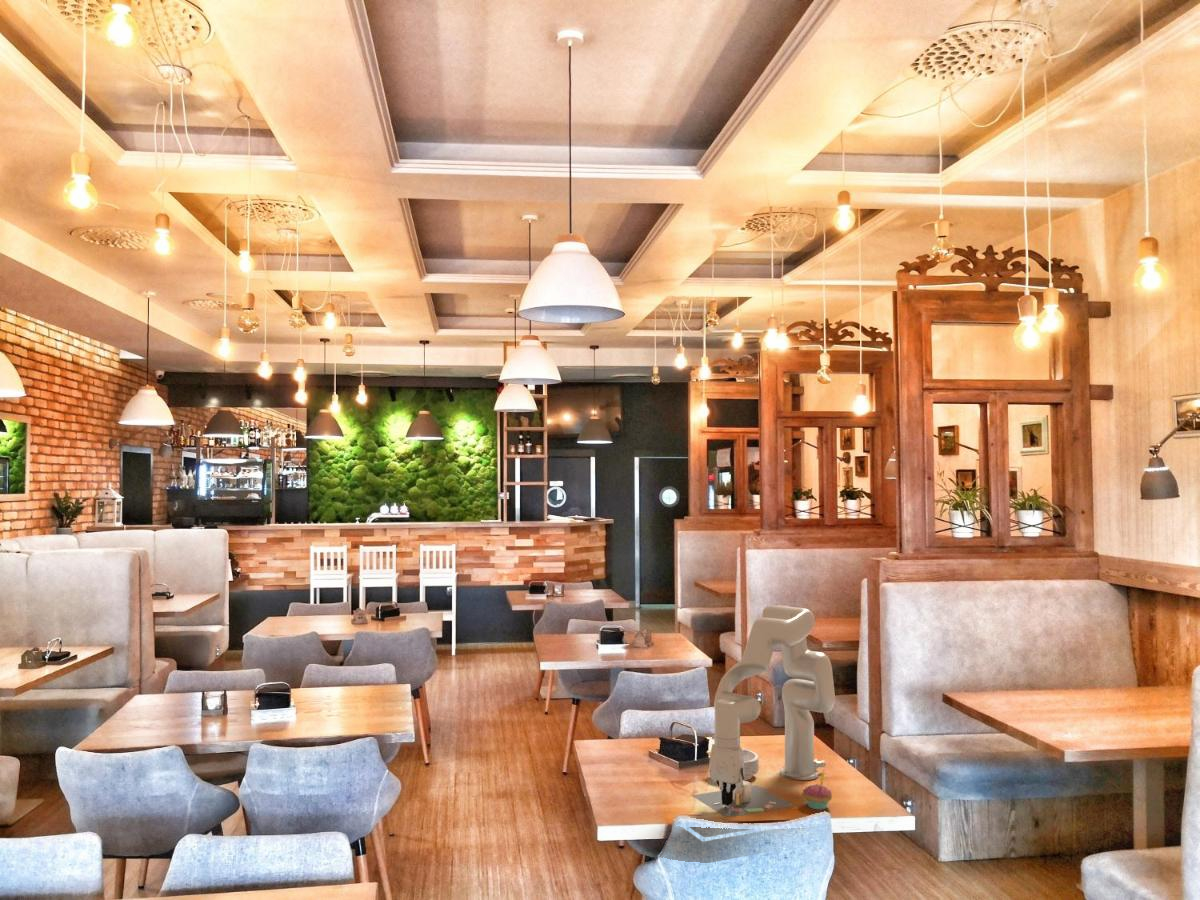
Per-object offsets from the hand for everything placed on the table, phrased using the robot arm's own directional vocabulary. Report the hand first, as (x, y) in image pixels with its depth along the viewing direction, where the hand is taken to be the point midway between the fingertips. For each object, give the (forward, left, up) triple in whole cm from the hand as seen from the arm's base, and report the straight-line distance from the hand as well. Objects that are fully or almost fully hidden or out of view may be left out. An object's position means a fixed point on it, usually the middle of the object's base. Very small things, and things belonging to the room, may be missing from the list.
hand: (727, 803), depth 275 cm
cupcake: (-26, +9, -2) cm, 27 cm away
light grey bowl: (-19, -25, -3) cm, 31 cm away
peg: (-5, -1, -1) cm, 5 cm away
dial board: (-8, -4, -2) cm, 9 cm away
